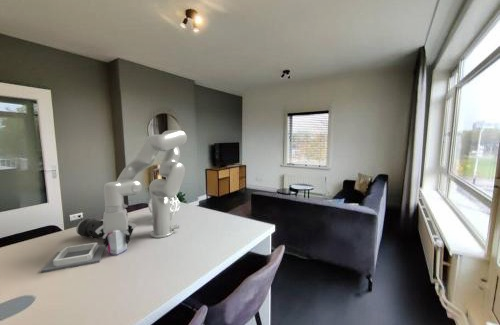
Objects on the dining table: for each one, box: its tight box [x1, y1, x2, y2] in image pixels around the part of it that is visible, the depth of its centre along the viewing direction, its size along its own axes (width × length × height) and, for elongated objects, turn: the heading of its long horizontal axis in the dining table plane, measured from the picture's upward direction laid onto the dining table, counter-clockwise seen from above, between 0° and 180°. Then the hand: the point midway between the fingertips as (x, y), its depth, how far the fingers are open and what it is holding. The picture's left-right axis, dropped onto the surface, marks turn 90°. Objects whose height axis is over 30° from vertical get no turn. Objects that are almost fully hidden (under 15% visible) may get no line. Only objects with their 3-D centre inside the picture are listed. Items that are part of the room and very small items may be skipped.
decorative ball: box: [147, 195, 181, 218], centre depth 148 cm, size 20×20×19 cm
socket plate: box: [40, 242, 108, 274], centre depth 99 cm, size 20×16×4 cm
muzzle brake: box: [75, 218, 133, 240], centre depth 119 cm, size 10×28×10 cm, turn 78°
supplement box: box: [107, 230, 128, 256], centre depth 105 cm, size 6×6×12 cm
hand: (117, 243), depth 105 cm, fingers closed on supplement box, 8 cm apart
